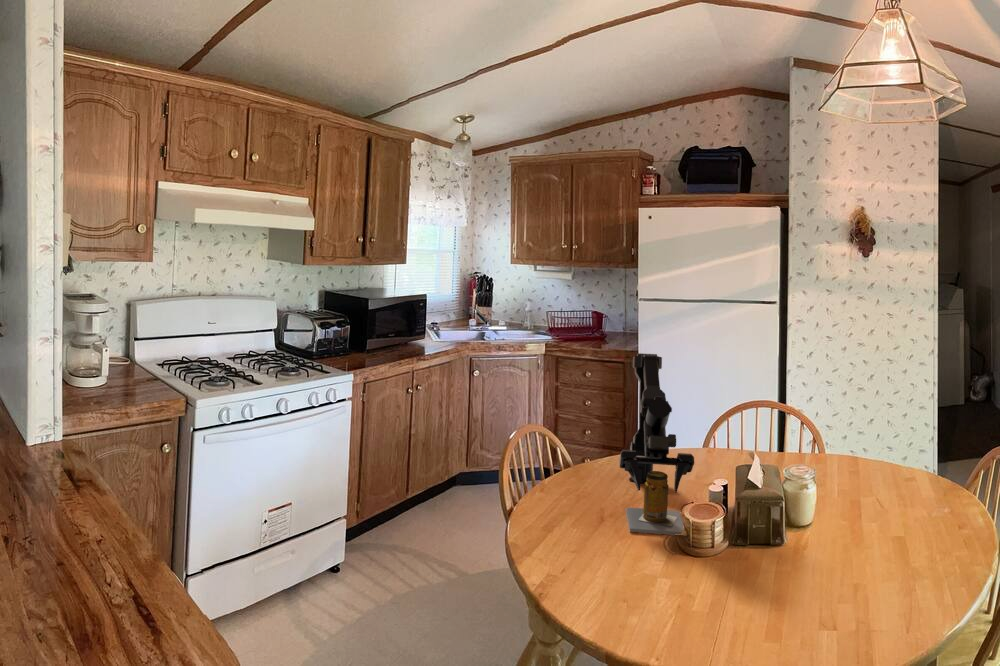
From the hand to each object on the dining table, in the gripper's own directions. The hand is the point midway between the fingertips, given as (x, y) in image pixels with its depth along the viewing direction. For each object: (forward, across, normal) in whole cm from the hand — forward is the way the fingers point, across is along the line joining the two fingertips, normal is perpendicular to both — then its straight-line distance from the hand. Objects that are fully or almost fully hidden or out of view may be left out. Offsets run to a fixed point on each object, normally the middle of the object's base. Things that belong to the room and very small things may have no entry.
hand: (657, 491), depth 173 cm
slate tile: (+6, 0, +7) cm, 9 cm away
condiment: (+5, +1, +7) cm, 9 cm away
